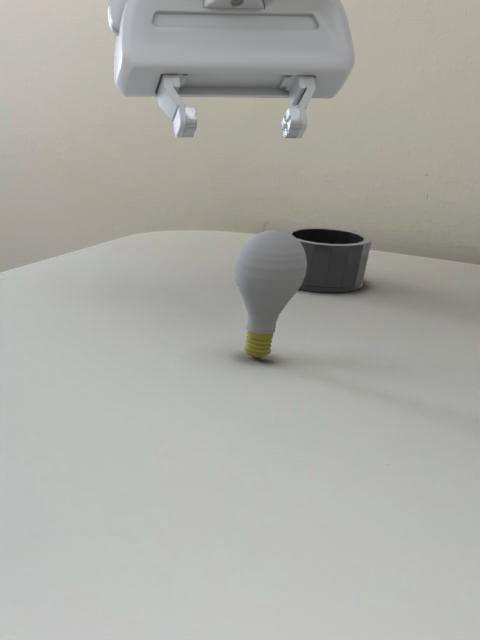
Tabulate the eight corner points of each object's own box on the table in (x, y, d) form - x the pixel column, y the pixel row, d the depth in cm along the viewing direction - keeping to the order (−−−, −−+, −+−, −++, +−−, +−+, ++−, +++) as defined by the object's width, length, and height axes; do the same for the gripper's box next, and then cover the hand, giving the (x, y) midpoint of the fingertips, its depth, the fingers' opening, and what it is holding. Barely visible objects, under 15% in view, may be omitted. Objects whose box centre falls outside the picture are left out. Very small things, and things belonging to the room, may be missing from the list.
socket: (346, 271, 107) (355, 227, 105) (374, 293, 100) (384, 246, 97) (267, 271, 107) (274, 226, 104) (289, 292, 100) (298, 245, 97)
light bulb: (210, 351, 83) (227, 225, 78) (264, 345, 85) (285, 221, 80) (246, 372, 79) (267, 240, 74) (303, 364, 81) (327, 235, 75)
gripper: (113, -43, 82) (127, 105, 79) (351, -37, 84) (373, 107, 81) (99, 19, 88) (111, 157, 85) (321, 23, 90) (340, 158, 87)
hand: (241, 133), depth 83 cm, fingers open, 8 cm apart
